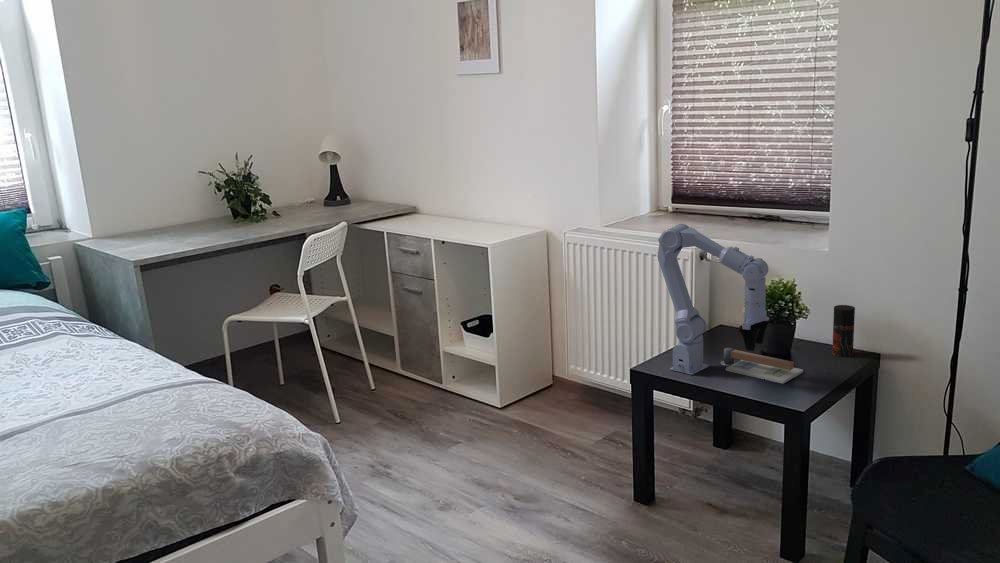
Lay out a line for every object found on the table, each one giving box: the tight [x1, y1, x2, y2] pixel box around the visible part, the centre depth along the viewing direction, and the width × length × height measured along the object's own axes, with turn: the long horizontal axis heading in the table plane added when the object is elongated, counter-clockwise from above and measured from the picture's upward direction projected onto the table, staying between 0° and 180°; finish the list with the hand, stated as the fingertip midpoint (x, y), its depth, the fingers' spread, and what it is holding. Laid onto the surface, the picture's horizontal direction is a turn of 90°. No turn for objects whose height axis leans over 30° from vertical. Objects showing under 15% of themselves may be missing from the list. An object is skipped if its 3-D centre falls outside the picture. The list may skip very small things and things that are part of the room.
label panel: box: [720, 359, 804, 384], centre depth 245 cm, size 12×24×1 cm, turn 44°
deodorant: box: [831, 304, 856, 358], centre depth 253 cm, size 6×6×15 cm
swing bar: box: [723, 347, 795, 370], centre depth 245 cm, size 22×3×4 cm, turn 44°
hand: (754, 346), depth 237 cm, fingers open, 6 cm apart
